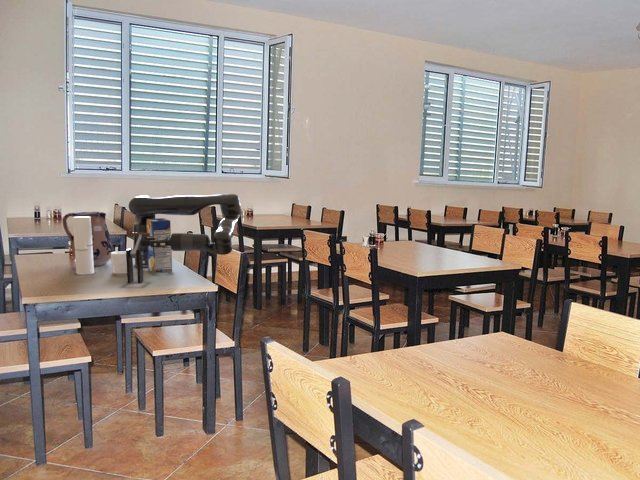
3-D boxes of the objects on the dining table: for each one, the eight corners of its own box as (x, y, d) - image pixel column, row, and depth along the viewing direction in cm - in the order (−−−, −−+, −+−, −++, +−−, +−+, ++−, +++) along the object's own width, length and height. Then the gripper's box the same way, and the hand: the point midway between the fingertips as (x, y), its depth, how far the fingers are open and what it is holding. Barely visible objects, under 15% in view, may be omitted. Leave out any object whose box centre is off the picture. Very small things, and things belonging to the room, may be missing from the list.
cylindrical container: (97, 272, 289) (94, 216, 285) (83, 275, 283) (79, 218, 279) (87, 271, 293) (83, 215, 289) (72, 273, 287) (68, 217, 282)
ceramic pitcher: (112, 267, 303) (109, 214, 299) (62, 269, 297) (58, 214, 292) (115, 261, 320) (112, 210, 315) (68, 263, 313) (64, 211, 309)
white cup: (134, 273, 289) (133, 251, 287) (125, 277, 281) (124, 254, 280) (117, 273, 290) (116, 251, 288) (108, 276, 282) (106, 253, 280)
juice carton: (148, 271, 295) (146, 218, 291) (165, 270, 299) (163, 218, 295) (155, 275, 286) (152, 221, 281) (172, 274, 290) (170, 220, 286)
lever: (133, 235, 273) (132, 231, 271) (150, 235, 273) (149, 231, 271) (125, 258, 262) (123, 253, 261) (142, 258, 263) (141, 253, 261)
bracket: (129, 282, 269) (127, 247, 267) (149, 282, 270) (147, 247, 268) (121, 287, 260) (119, 251, 257) (142, 287, 260) (140, 251, 258)
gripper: (179, 253, 268) (139, 253, 267) (188, 248, 282) (149, 248, 281) (179, 235, 267) (138, 235, 266) (187, 231, 281) (148, 231, 280)
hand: (144, 241), depth 274 cm, fingers open, 7 cm apart
